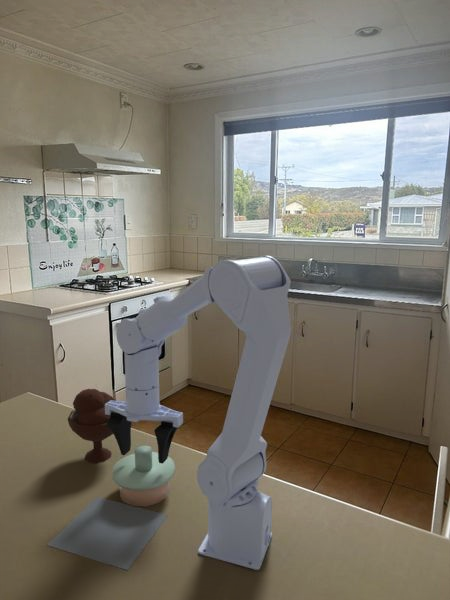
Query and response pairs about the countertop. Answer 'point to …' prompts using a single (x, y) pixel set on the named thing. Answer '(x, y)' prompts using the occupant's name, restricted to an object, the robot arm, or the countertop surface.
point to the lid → (142, 470)
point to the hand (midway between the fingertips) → (144, 456)
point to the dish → (145, 495)
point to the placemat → (109, 532)
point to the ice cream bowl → (92, 422)
